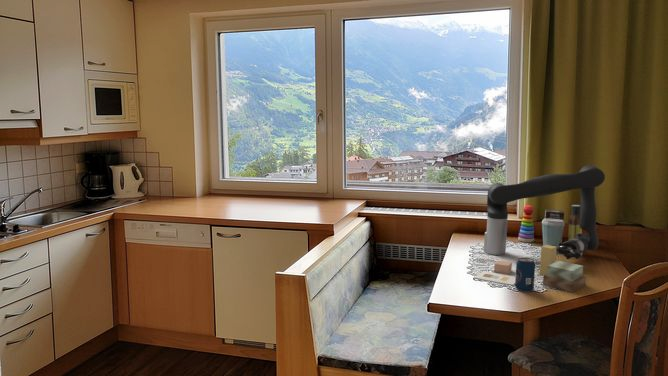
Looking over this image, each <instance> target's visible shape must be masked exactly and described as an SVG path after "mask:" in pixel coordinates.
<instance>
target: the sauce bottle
mask: <svg viewBox="0 0 668 376" xmlns="http://www.w3.org/2000/svg"><path fill="white" fill-rule="evenodd" d="M580 209H581V204H572V205H571V214H570V215H569V217H568V235H567V237H568V238H567V239H568V240H570V239H574V238H575V236H576V234H578V233H583V231H582V230H583V229H581V228H580V226H579V223H580ZM568 240H567V241H568Z"/></svg>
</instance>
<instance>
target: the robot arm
mask: <svg viewBox="0 0 668 376" xmlns="http://www.w3.org/2000/svg"><path fill="white" fill-rule="evenodd" d="M605 180H606V175H605V173H604V171H603V170H602V169H600V168H598V167H597V166H595V165H591V164H590V165H589V164H588V165H584V166H583V167H582V168H581V169H580V170H579V171H578V172H574V173H550V174H543V175H540V176H536V177H532V178H530V179H527V180H525V181H523V182H519V183H515V184H514V183H513V184H503V183H500V182H496V183H495V182H494V183H492V184H491V185H490V186H489V188H488V190H487V196H486V197H487V199H486V200H487V201H486V202H487V203H486V211H487V217H486V219H487V220H486V231H485V232H484V241H483V242H484V243H483V252H484V253H487V254H488V255H493V256H495V255H496V256H502V255H505V254H506V253H507V252H506V251H507V233H508V220H509V219H508V217H509V216H508V215H509V212H508V203H511V202H515V201H518V200H523V199H529V198H537V197H544V196H549V195H555V194H559V193H563V192H569V191H571V190H578V189H579V190H580V223H579V226H580V228H581V229H582V230H583V231H585V232H587V233H583V232H582V233H578V234H576V236H575V238H574V239H570V240H565V241H564V242H562V243H561V244H560V245H559V247H556V256H557V255H558V256H563V257H565V258H566V260H569V259H574V258H575V259H576V260H579V259H581V258H582V257H583V252H585V251H586V250H588V251H589V250H590V251H595V250H596V249H597V248H598V247H599V245H600V244H599V236H598V233H597V224H596V223H597V205H596V199H595V192H596V188H597V187H599V186H601V185H602V184H603V183H604V181H605ZM551 246H554V245H551Z"/></svg>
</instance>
